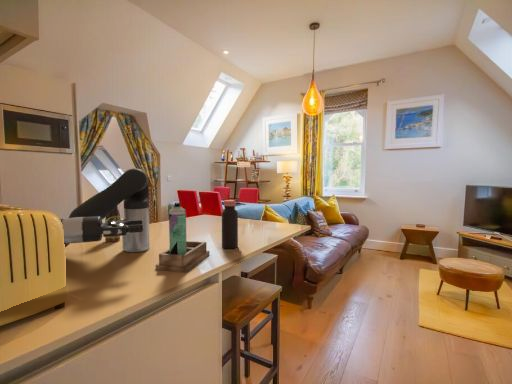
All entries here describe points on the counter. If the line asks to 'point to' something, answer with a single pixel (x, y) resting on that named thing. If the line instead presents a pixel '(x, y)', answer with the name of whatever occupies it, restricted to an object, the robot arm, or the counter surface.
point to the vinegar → (229, 225)
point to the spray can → (177, 230)
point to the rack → (183, 258)
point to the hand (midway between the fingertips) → (142, 225)
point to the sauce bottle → (113, 216)
